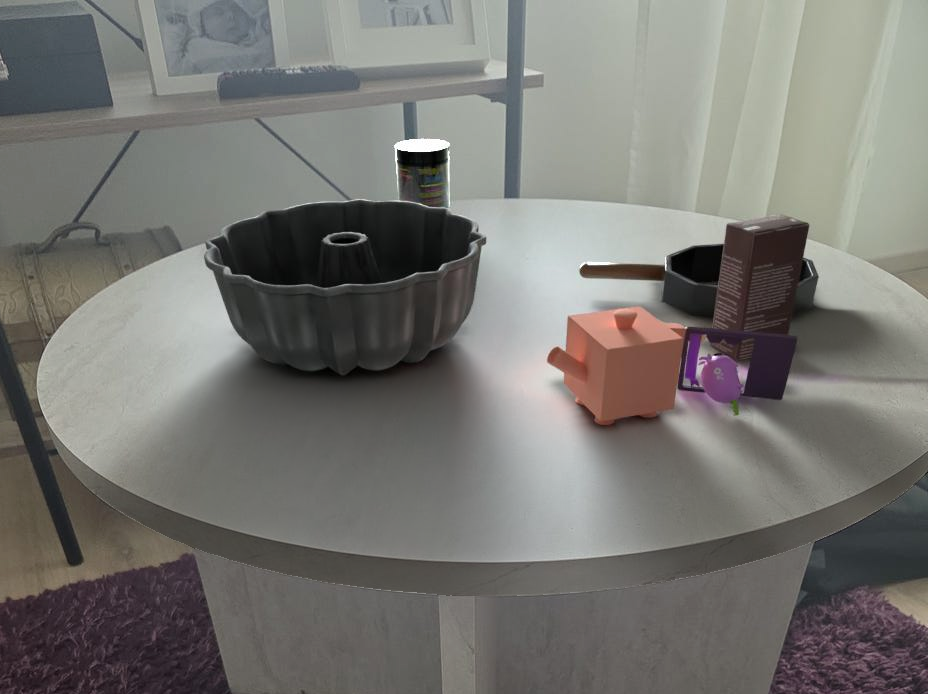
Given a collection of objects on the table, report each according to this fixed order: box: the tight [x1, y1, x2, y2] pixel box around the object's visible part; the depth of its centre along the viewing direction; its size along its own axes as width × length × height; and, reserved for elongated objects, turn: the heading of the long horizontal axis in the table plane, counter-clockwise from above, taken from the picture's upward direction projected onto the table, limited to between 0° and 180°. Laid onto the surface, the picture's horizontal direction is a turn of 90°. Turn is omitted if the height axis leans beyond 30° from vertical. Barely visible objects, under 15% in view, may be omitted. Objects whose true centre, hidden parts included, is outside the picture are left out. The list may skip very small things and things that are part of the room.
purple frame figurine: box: [677, 325, 799, 417], centre depth 77 cm, size 7×5×9 cm
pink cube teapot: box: [546, 305, 686, 426], centre depth 76 cm, size 8×12×8 cm, turn 107°
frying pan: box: [578, 243, 820, 320], centre depth 97 cm, size 24×16×4 cm, turn 80°
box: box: [709, 213, 810, 361], centre depth 83 cm, size 6×4×12 cm
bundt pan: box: [203, 198, 487, 376], centre depth 89 cm, size 26×26×10 cm
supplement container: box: [394, 138, 451, 210], centre depth 116 cm, size 7×7×10 cm
